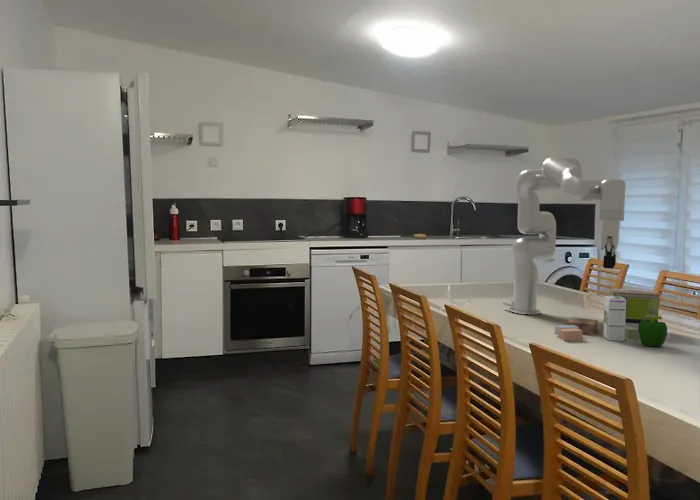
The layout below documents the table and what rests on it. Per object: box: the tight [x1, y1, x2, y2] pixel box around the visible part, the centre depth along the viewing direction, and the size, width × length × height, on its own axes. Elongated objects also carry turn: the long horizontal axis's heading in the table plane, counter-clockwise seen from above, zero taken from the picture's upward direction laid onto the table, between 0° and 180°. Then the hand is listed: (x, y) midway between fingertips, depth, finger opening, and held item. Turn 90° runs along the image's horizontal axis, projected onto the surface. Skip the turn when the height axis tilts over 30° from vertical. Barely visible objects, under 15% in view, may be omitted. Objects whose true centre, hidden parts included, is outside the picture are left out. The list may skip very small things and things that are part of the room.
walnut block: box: [566, 317, 599, 336], centre depth 204 cm, size 9×9×4 cm
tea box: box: [609, 288, 660, 329], centre depth 205 cm, size 15×10×15 cm
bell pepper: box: [638, 315, 668, 348], centre depth 183 cm, size 8×8×10 cm
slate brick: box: [554, 324, 579, 336], centre depth 196 cm, size 7×4×4 cm, turn 96°
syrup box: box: [602, 295, 626, 342], centre depth 192 cm, size 6×6×14 cm
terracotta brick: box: [557, 328, 583, 341], centre depth 191 cm, size 7×4×4 cm, turn 102°
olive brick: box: [625, 325, 639, 340], centre depth 196 cm, size 7×4×4 cm, turn 2°
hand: (609, 266), depth 190 cm, fingers open, 9 cm apart
